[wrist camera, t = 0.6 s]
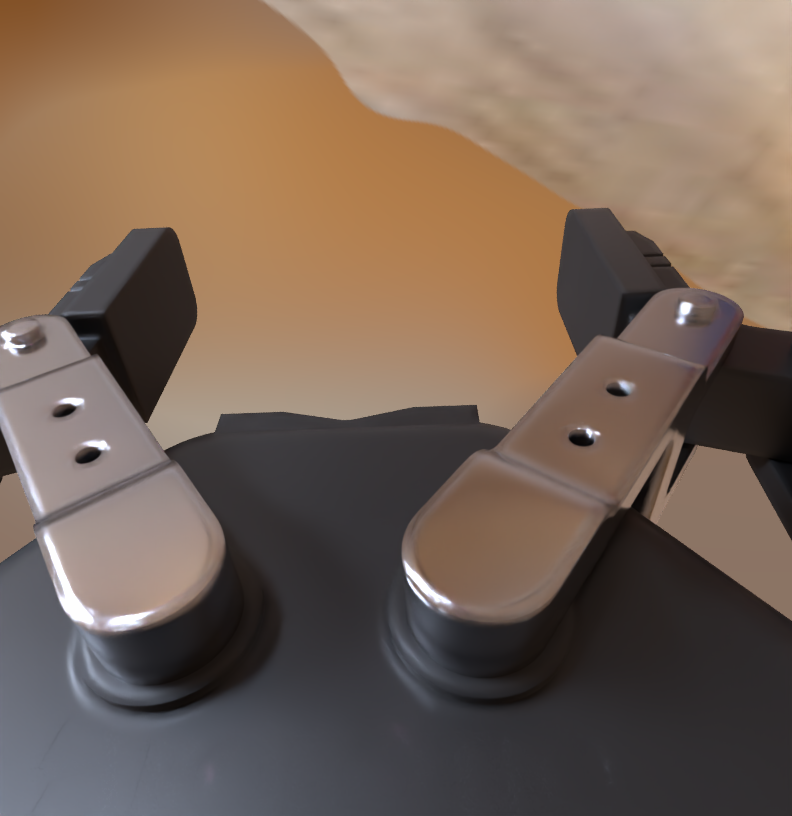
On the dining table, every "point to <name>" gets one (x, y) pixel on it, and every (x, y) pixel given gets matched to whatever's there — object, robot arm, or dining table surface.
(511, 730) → the robot arm
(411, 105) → the dining table surface
